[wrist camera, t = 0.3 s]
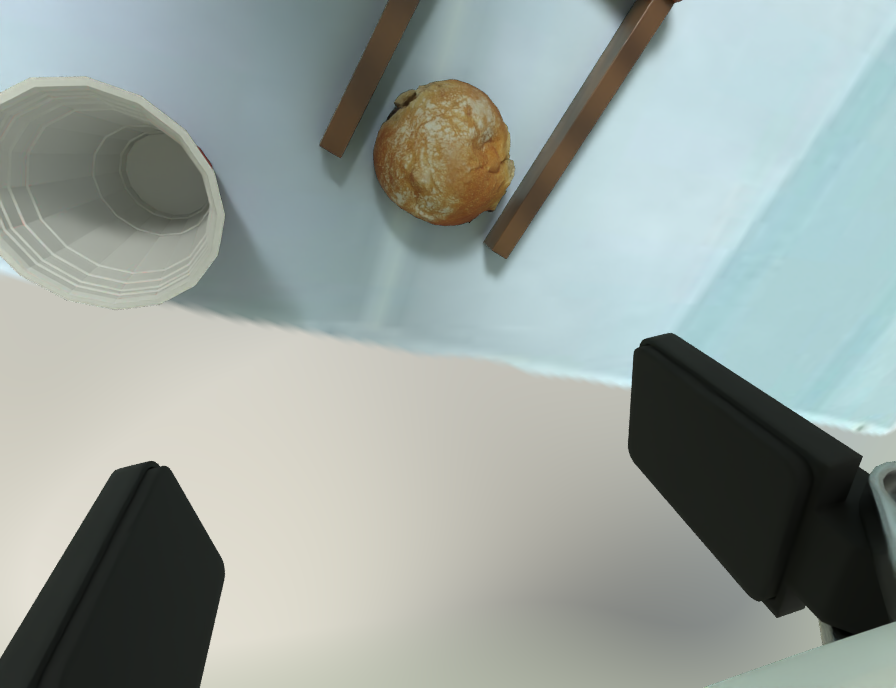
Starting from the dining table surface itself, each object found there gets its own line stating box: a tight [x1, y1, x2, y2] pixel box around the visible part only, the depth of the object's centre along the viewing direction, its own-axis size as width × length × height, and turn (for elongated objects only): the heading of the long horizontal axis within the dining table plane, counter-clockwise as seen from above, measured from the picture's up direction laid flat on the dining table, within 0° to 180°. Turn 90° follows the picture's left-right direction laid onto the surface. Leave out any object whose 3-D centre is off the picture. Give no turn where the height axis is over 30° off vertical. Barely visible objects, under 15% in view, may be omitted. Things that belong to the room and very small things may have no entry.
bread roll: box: [373, 79, 515, 226], centre depth 34 cm, size 10×10×8 cm
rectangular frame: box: [320, 0, 682, 259], centre depth 32 cm, size 23×17×3 cm
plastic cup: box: [0, 77, 225, 310], centre depth 27 cm, size 11×11×12 cm
